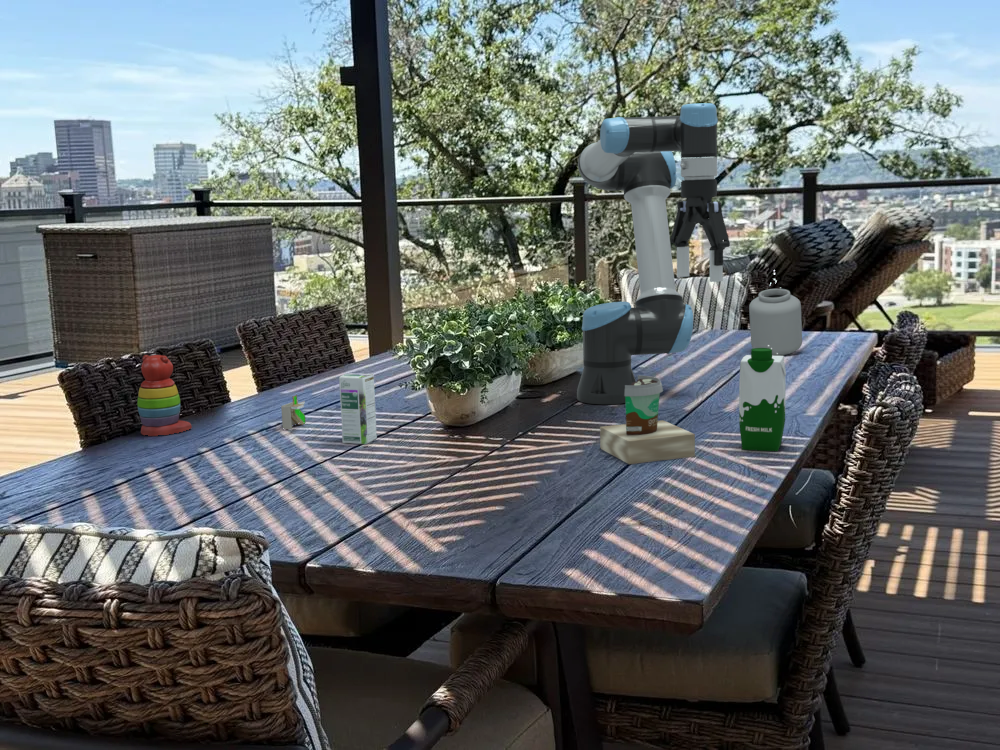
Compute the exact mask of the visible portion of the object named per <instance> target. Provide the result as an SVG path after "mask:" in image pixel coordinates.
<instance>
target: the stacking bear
mask: <svg viewBox="0 0 1000 750" xmlns="http://www.w3.org/2000/svg"><path fill="white" fill-rule="evenodd" d="M140 369H141V374H142V376H143V378H144V379H145V380H143V381H142V382H141V384H140V387H139V390H138V396H137V404H136V406H137V411H138V414H139V419H140V421H141V424H142V425H141V428H140V435H143V436H145V435H148V436H147V437H159V436H158V435H164V436H170V435H169V434H171V435H175V434H174V433H177V434H180V433H179V432H181V433H184V432H183V431H185V432H187V431H186V430H188V431H190V430H189V429H191V428H192V429H193V425H192V424H191V422H189V421H187V420H186V421H185V420H180V413H181V398H180V394H179V390H178V388H177V385H176V384H175V381H174V380H173V379H172V378H170V377H171V375H172V374H173V371H174V365H173V363H172V361H171V360H170V359H169V358H168V357H167V355H163V354H162V355H161V354H153V355H149V354H145V355H143V356H142V364H141V368H140ZM192 429H191V430H192Z"/></svg>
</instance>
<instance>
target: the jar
mask: <svg viewBox="0 0 1000 750" xmlns="http://www.w3.org/2000/svg"><path fill="white" fill-rule="evenodd" d="M775 271H776V270H775V269H774V270H773V275H776V272H775ZM773 281H775V282H774V283H777V281H778V280H776V278H773ZM771 284H772V282H770V284H769V287H770V286H771ZM757 295H758V296H757V297H755V298H754V299H752V300H751V302H750V303H749V308H748V309H749V313H748V314H749V327H750V328H749V329H750V330H749V331H750V343H751V345H750V346H751V349H754V348H770V349H772V356H786V355H790V354H793V353H795V352H796V351H798V350H799V349H801V347H802V345H803V328H802V324H803V323H802V305H801V300H800V299H798V297H796V296H794V295H792V294H791V291H790V290H789V289H785V288H782V287H779V288H770V289H769V288H768V289H765V290H762V291H759V293H758V294H757Z"/></svg>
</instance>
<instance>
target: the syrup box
mask: <svg viewBox="0 0 1000 750" xmlns="http://www.w3.org/2000/svg"><path fill="white" fill-rule="evenodd" d="M374 377H375V375H374V373H354V372H353V373H351V372H349V373H345V374H343V375H340V376H339V377H338V381H339V383H338V385H339V387H338V388H339V400H340V401H339V402H340V417H341V436H342V437H341V439H342V440H341V441H342V444H354V445H367V444H369V443H371V442H374V440H377V439H378V437H377V433H378V432H377V416H376V399H375V398H376V395H375V378H374Z"/></svg>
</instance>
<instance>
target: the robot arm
mask: <svg viewBox="0 0 1000 750" xmlns="http://www.w3.org/2000/svg"><path fill="white" fill-rule="evenodd" d="M718 121H719V120H718V114H717V107H716V105H715V104H714V103H712V102H711V103H710V102H706V103H705V102H703V103H702V102H701V103H699V102H698V103H697V102H696V103H686V104H682V105H681V107H680V115H668V116H667V115H666V116H665V115H663V116H660V115H659V116H637V117H636V116H635V117H634V116H633V117H632V116H631V117H625V116H624V117H622V116H616V117H612V118H610V117H609V118H605V119H603V120H602V122H601V126H600V134H599V139H598V140H597V142H593V143H590V144H589V145H587V146H585V148H584V149H583V150H582V152H581V153H580V155H579V156H578V159H577V160H578V161H577V168H578V172H579V175H580V176H581V178H582V179H583V180H584V181H585V182H586V183H587V184H589V186H592V187H594V188H595V189H599V190H603V191H610V192H611V191H614V192H615V191H617V192H618V191H622V192H623V198H624V200H625V201H626V202H628V203H629V204H630V206H631V216H632V225H633V235H634V245H635V252H636V253H635V254H636V263H637V272H638V282H639V291H640V295H639V297H637V299H636V300H635V302H634V303H635V307H632V305H631V303H630V302H628V301H613V302H605V303H600V304H596V305H593V306H591V307H588V308H586V309H585V311H584V312H583V313H582V324H581V325H582V326H581V330H582V355H583V356H582V358H583V360H582V361H583V362H582V363H583V367H582V368H583V369H582V373H581V376H580V379H579V381H578V386H577V388H576V389H577V390H576V400H577V401H579V402H580V403H581V402H582V403H585V404H591V405H592V404H593V405H620V404H625V396H624V395H625V385H631V384H632V383H633V382H636V381H637V380H636V378H635V374H634V371H633V369H632V356H642V355H645V356H646V355H661V354H666V355H670V354H675V353H683V352H684V351H686V350H687V348H688V347H689V346H690V342H691V340H692V335H693V330H694V313H693V308H692V306H691V305H689V304H687V303H686V304H684V298H683V295H682V294H680V293H679V292H678V291H677V290H676V284H675V282H676V281H675V273H674V266H673V256H672V246H671V244H674V246H675V247H676V277H677V278H686V277H690V243H689V241H690V239H691V237H692V234H693V232H694V230H695V228H696V225H697V224H699V225H700V226H702V229H703V230H704V233H705V235H706V238H707V239H708V242H709V244H710V247H709V249H708V250H709V282H710V283H712V282H713V283H715V282H717V283H718V282H724V281H723V280H724V279H723V278H724V276H723V275H724V274H723V273H724V269H723V268H724V266H723V265H724V250H725V249H726V248H729V247H730V246H731V241H730V238H729V235H728V231H727V227H726V224H725V220H724V215H723V212H722V211H723V210H722V202H721V201H712V200H713V199H712V198H715V197H717V195H718V180H717V179H715V177H717V176H718V155H717V154H718V150H717V149H718ZM673 152H679V153H680V164H679V165H680V176H681V177H682V178H683V179H682V180H681V182H680V197H681V198H684V199H686V200H683V201H681V200H680V201H678V202H677V212H676V217H675V220H674V224H673V228H672V233H671V236H670V230H669V220H668V210H667V202H666V200H667V198H668V197H669V196H670V195H671V190H672V188H674V187H675V186H676V182H677V174H676V173H677V165H676V159H675V157H674V154H673Z"/></svg>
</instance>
